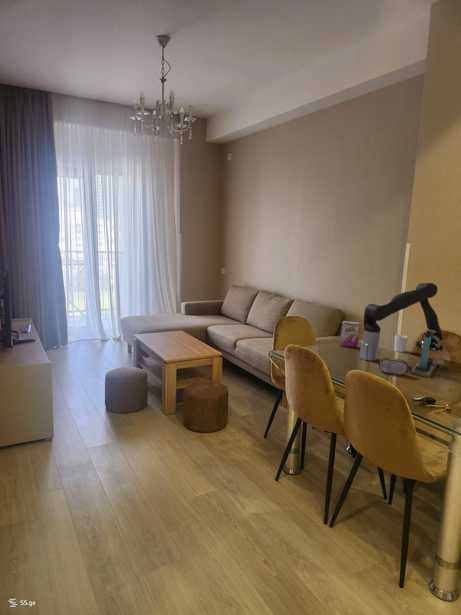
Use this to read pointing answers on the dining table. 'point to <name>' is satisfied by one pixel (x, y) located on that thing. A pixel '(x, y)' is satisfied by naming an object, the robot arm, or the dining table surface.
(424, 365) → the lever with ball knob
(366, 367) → the dining table surface
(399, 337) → the white cup
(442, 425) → the dining table surface
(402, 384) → the dining table surface
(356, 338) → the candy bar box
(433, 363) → the press base
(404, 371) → the tin
